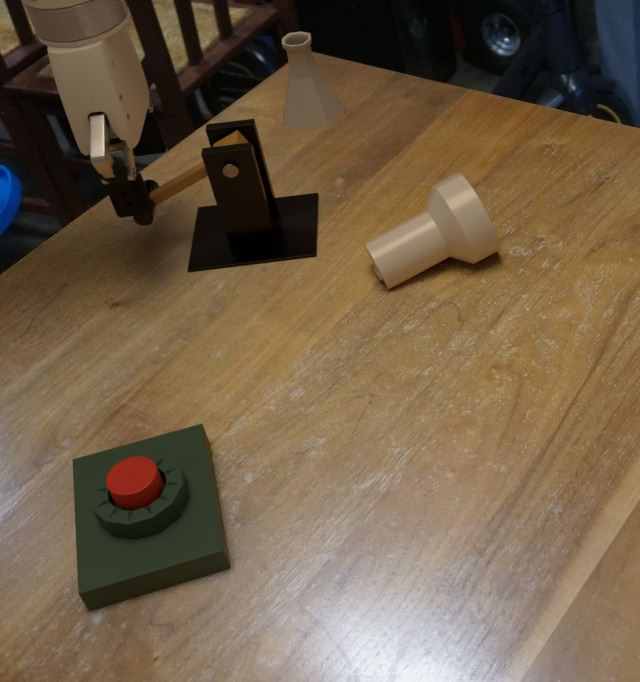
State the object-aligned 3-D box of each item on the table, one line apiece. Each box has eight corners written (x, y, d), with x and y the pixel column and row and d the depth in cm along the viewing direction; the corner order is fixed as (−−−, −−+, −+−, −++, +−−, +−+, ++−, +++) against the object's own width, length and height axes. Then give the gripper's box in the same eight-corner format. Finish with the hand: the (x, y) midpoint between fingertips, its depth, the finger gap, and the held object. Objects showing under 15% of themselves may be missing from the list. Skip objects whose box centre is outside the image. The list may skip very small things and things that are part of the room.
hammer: (144, 231, 102) (126, 213, 100) (151, 200, 105) (133, 182, 104) (252, 170, 99) (234, 151, 97) (255, 140, 102) (238, 121, 101)
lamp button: (112, 479, 81) (104, 464, 80) (161, 465, 81) (154, 450, 80) (114, 516, 78) (107, 500, 77) (165, 501, 79) (158, 486, 78)
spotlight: (514, 261, 99) (484, 188, 95) (404, 322, 98) (367, 250, 93) (482, 227, 106) (452, 157, 101) (378, 284, 104) (343, 215, 100)
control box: (81, 477, 86) (63, 443, 83) (209, 441, 88) (196, 407, 85) (88, 611, 77) (69, 578, 74) (231, 568, 79) (217, 534, 76)
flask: (292, 103, 125) (273, 21, 118) (353, 104, 124) (338, 22, 117) (273, 138, 120) (252, 55, 113) (337, 139, 119) (320, 56, 112)
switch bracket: (190, 279, 103) (154, 175, 95) (201, 216, 110) (167, 114, 102) (318, 264, 103) (292, 158, 95) (320, 202, 111) (296, 99, 103)
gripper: (52, -31, 96) (117, 137, 107) (8, 68, 83) (87, 245, 95) (138, -42, 96) (194, 126, 107) (107, 55, 83) (173, 234, 95)
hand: (143, 182), depth 101 cm, fingers open, 9 cm apart
